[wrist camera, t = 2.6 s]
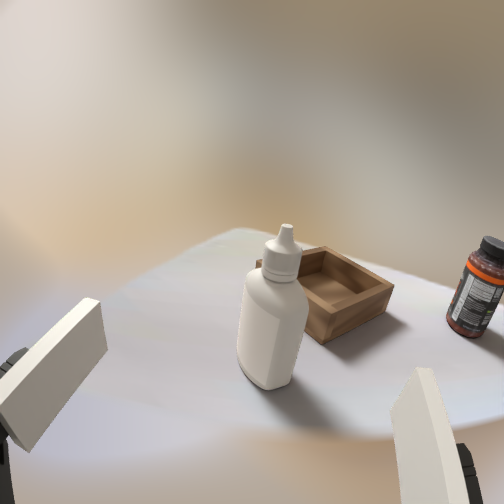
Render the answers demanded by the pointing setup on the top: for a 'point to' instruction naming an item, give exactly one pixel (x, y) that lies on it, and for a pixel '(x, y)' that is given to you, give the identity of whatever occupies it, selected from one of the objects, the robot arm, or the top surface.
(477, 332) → the supplement bottle
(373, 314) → the holder
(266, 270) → the eye dropper bottle
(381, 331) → the top surface
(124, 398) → the top surface
